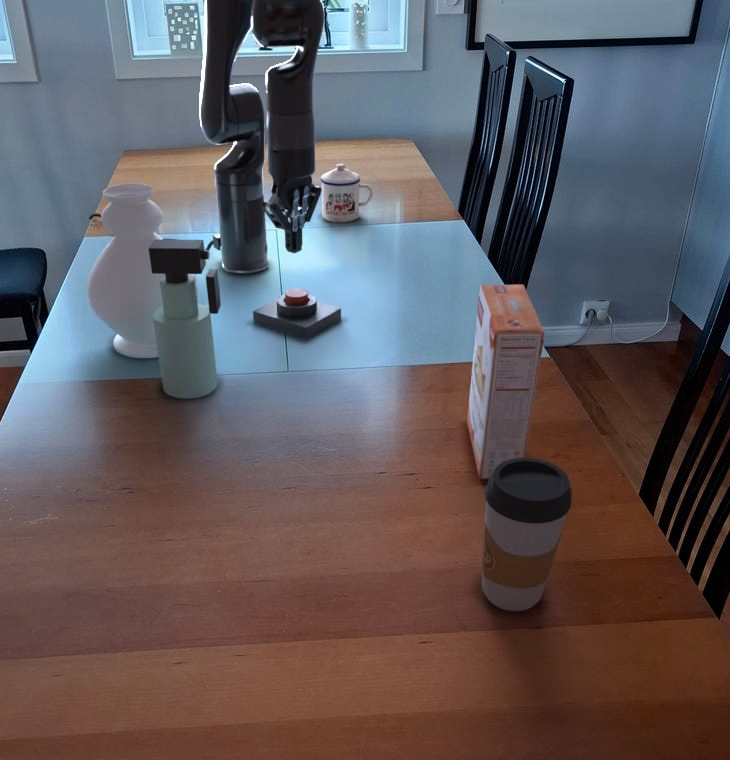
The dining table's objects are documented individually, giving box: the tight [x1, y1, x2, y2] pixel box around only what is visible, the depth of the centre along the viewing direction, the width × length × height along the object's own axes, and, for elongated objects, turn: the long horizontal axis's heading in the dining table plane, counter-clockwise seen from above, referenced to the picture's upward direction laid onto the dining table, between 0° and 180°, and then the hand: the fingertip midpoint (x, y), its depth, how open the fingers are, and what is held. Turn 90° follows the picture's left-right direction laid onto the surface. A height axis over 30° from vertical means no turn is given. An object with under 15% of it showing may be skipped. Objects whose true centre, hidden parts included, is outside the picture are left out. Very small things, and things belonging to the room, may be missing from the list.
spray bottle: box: [148, 239, 219, 400], centre depth 119 cm, size 9×8×22 cm
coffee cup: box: [481, 457, 573, 612], centre depth 83 cm, size 8×8×15 cm
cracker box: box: [466, 284, 545, 480], centre depth 103 cm, size 14×6×21 cm, turn 178°
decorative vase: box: [86, 182, 199, 359], centre depth 131 cm, size 18×18×25 cm
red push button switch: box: [252, 293, 342, 340], centre depth 143 cm, size 12×10×4 cm
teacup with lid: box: [320, 163, 374, 223], centre depth 187 cm, size 12×9×12 cm
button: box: [284, 287, 309, 305], centre depth 141 cm, size 4×4×2 cm
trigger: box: [205, 268, 222, 315], centre depth 116 cm, size 1×3×6 cm, turn 176°
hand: (294, 251), depth 136 cm, fingers closed
